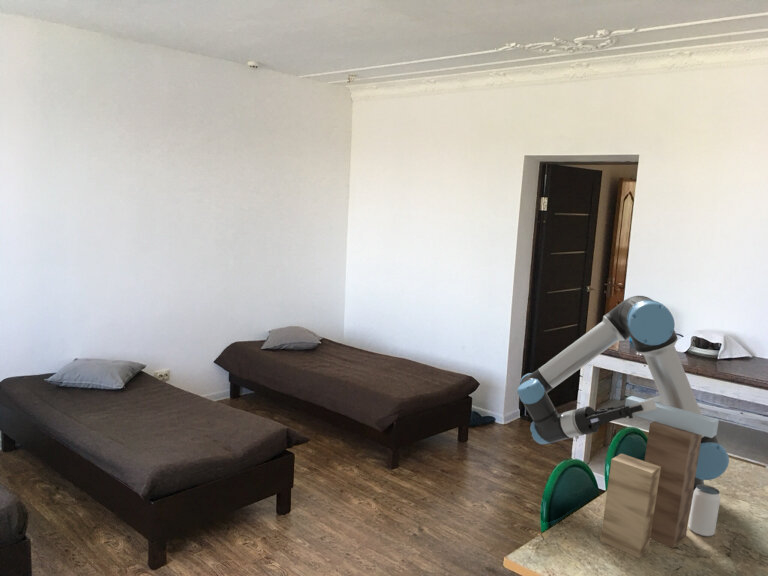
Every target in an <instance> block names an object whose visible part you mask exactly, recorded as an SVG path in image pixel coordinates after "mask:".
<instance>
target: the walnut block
mask: <svg viewBox="0 0 768 576" xmlns="http://www.w3.org/2000/svg"><path fill="white" fill-rule="evenodd" d="M648 428H649V429H648V436H647V442H646V446H645V447H646V448H645V455H644V461H645V462H648V463H651V464H654V465H657V466H660V467H661V470H660V477H659V483H658V490H657V497H656V503H655V510H654V517H653V523H652V530H651V536H650V540H652V541H655V542H658V543H660V544H662V545H665V546H667V547H669V548H673V549H674V548H675V547H676V545H678V544H679V543H680V542H681V541H682V540H683V539H684V538H685V537H686V536H687V530H688V524H689V517H690V511H691V505H692V495H693V488H694V482H695V476H696V469H697V463H698V457H699V451H700V444H701V438H702V435H699V434H696V433H693V432H689V431H686V430H682V429H679V428H675V427H672V426H669V425H665V424H662V423H658V422H655V421H652V422H650V423H649V427H648Z"/></svg>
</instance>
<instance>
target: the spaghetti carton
mask: <svg viewBox="0 0 768 576" xmlns="http://www.w3.org/2000/svg"><path fill="white" fill-rule="evenodd" d="M646 399H647V398H646ZM646 399H644V398H641V397H639V396H633V395H631V396H629V397H626V399H625V403H624V405H625V406H629V405H631V404H635V403H639V402H643V401H647V400H646ZM655 404H656V406H657V409H656V410H652V411H648V412H643V413H639V414H635V415H633V413H632V416H633V417H634V416H635V417H639V418H642V419H646V420H648V421H652V422H654V421H655V422H658V423H662V424H665V425H669V426H672V427H675V428H679V429H682V430H686V431H689V432H693V433H696V434H699V435H703V436H706V437H710V438H713V437H714V436H715V435H716V436H717V434H718V427H719V422H720V421H719V420H720V419H718V418H715V417H711V416H708V415H704V414H702V413H701V414H702V415H701V414H697V413H693V412H690V411H686V410H682V409H679V408H675V407H671V406H668V405H664V404H660V403H657V402H655ZM629 408H630V406H629Z"/></svg>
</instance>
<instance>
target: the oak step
mask: <svg viewBox="0 0 768 576" xmlns="http://www.w3.org/2000/svg"><path fill="white" fill-rule="evenodd" d="M660 470H661V467H660V466H657V465H654V464H651V463H648V462H645V460H642V459H639V458H637V457H633V456H630V455H627V454H625V453H619V454H618V455H616V456H615V457H612V458H611V460H610V467H609V476H608V481H607V490H606V496H605V497H606V498H605V503H604V510H603V511H604V512H603V517H602V526H601V532H600V533H601V534H600V542H602V543H605V544H606V545H609V546H611V547H614V548H616V549H619V550H620V551H623V552H625V553H627V554H630V555H631V556H634V557H636V558H638V559H640V558H641V557H642V556H643V555H645V553H646V552H647V551H649V549H650V542H651V539H650V536H651V530H652V523H653V517H654V510H655V503H656V497H657V490H658V483H659V477H660Z"/></svg>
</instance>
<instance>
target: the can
mask: <svg viewBox="0 0 768 576" xmlns="http://www.w3.org/2000/svg"><path fill="white" fill-rule="evenodd" d="M720 502H721V496H720V491H719V489H717V488H716V487H713V486H711V485H707V484H705V485H697V486H696V489H695V490H694V493H693V498H692V501H691V507H690V513H689V520H688V526H687V528H689V530H690V531H691V532H692V533H694V534H696V535H698V536H701V537H707V538H708V537H712V536H713V535H715V533H716V527H717V521H718V514H719V511H720V510H719V509H720Z"/></svg>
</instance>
